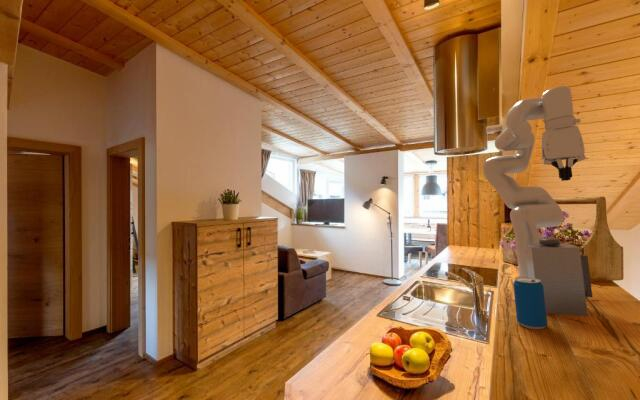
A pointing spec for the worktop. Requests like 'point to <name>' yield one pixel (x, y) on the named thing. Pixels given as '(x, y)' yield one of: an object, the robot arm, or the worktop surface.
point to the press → (560, 276)
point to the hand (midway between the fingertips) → (566, 180)
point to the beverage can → (530, 302)
